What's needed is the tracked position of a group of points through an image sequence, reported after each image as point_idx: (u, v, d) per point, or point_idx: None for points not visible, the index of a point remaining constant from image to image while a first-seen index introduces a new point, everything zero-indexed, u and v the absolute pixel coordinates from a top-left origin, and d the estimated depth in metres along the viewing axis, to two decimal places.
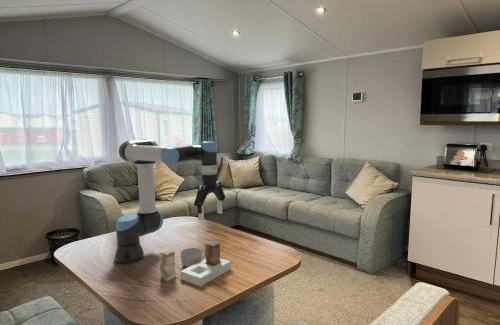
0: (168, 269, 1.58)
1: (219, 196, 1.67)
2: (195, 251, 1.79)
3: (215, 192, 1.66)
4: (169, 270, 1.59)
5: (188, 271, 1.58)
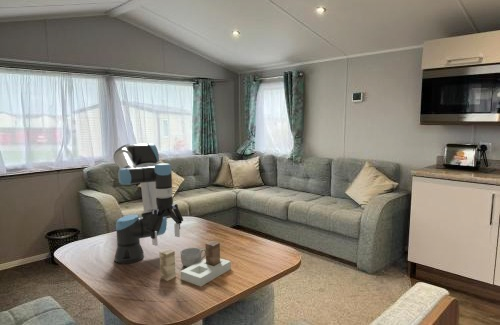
0: (168, 269, 1.58)
1: (176, 219, 1.62)
2: (195, 251, 1.79)
3: (171, 215, 1.60)
4: (169, 270, 1.59)
5: (188, 271, 1.58)
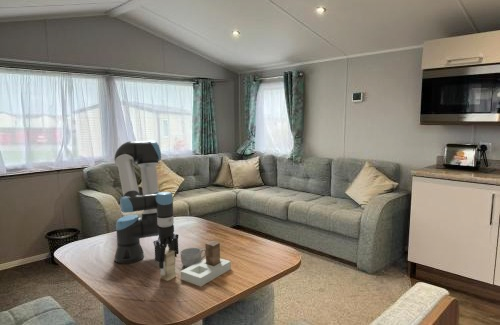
0: (168, 269, 1.58)
1: None
2: (195, 251, 1.79)
3: (170, 245, 1.61)
4: (169, 270, 1.59)
5: (188, 271, 1.58)
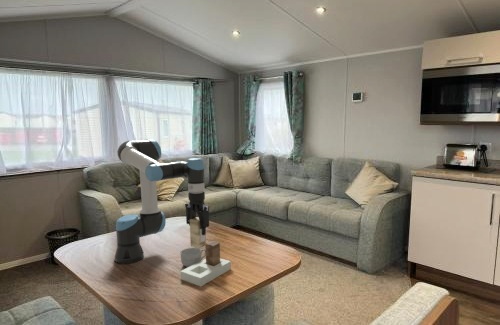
0: (191, 236, 1.57)
1: None
2: (195, 251, 1.79)
3: None
4: (192, 237, 1.57)
5: (188, 271, 1.58)
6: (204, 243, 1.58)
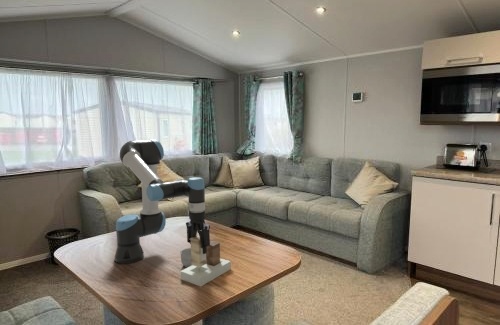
0: (192, 254, 1.58)
1: (200, 240, 1.56)
2: None
3: None
4: (193, 256, 1.58)
5: (188, 271, 1.58)
6: (205, 261, 1.59)
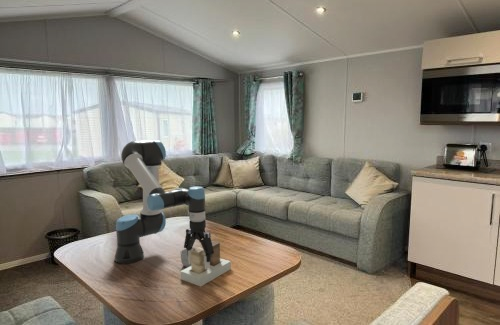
0: (192, 266, 1.59)
1: None
2: None
3: None
4: (193, 268, 1.58)
5: (188, 271, 1.58)
6: None
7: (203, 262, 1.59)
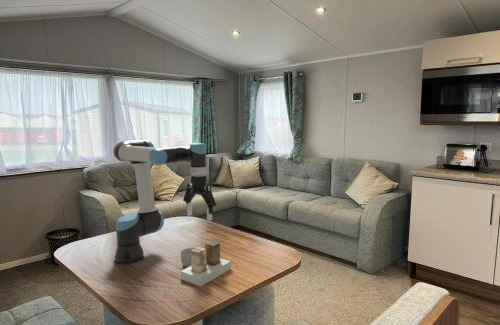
0: (192, 266, 1.59)
1: (205, 201, 1.60)
2: None
3: None
4: (193, 268, 1.58)
5: (188, 271, 1.58)
6: None
7: (203, 262, 1.59)
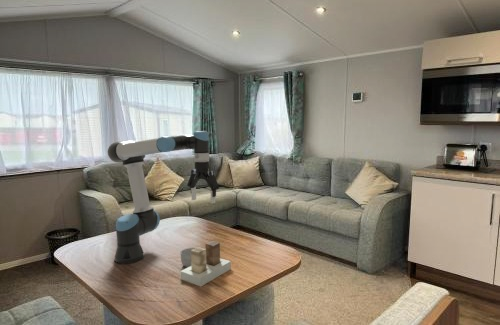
0: (192, 266, 1.59)
1: (209, 185, 1.71)
2: None
3: None
4: (193, 268, 1.58)
5: (188, 271, 1.58)
6: None
7: (203, 262, 1.59)
